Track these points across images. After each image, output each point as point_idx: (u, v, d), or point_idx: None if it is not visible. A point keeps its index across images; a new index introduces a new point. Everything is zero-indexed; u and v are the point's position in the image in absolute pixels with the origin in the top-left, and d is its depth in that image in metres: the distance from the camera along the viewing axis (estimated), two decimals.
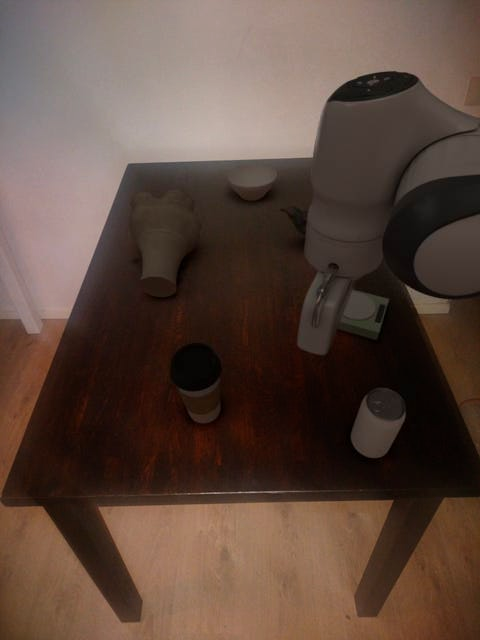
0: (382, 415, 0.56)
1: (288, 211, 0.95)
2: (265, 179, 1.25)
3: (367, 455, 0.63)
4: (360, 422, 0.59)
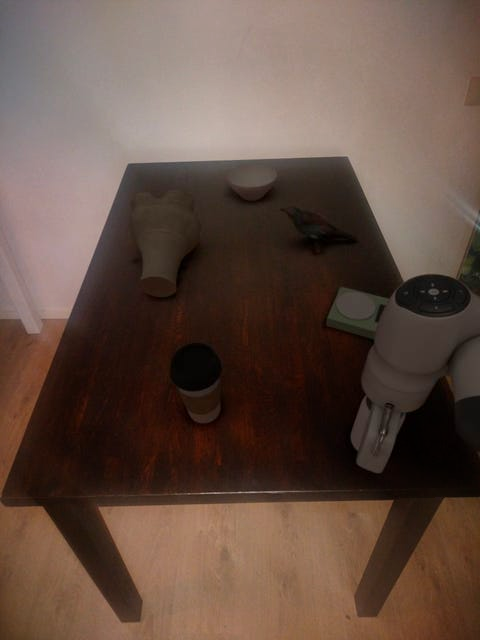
0: None
1: (288, 211, 0.95)
2: (265, 179, 1.25)
3: None
4: (359, 422, 0.59)
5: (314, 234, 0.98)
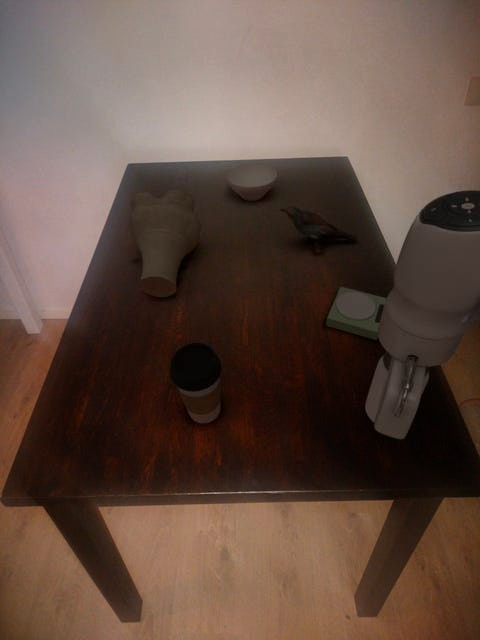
0: None
1: (288, 211, 0.95)
2: (265, 179, 1.25)
3: None
4: (376, 387, 0.52)
5: (314, 234, 0.98)
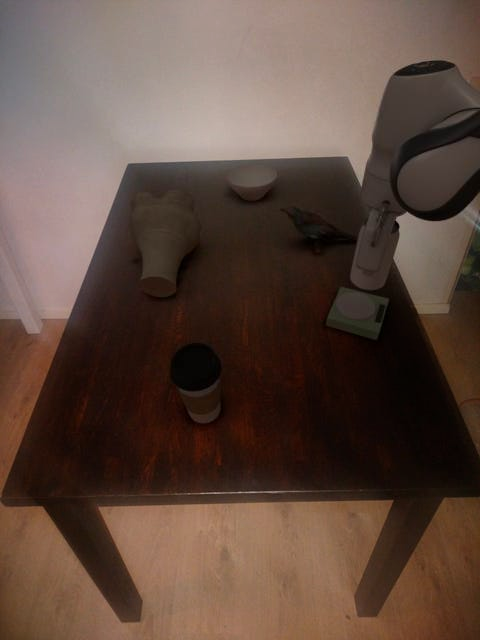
0: None
1: (288, 211, 0.95)
2: (265, 179, 1.25)
3: (365, 287, 0.69)
4: (358, 249, 0.65)
5: (314, 234, 0.98)
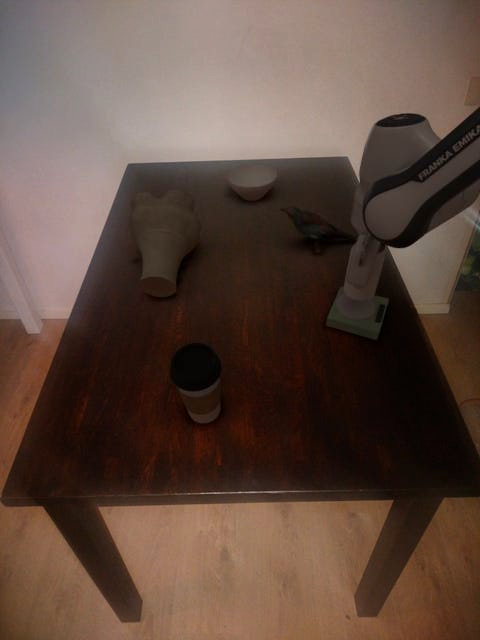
0: None
1: (288, 211, 0.95)
2: (265, 179, 1.25)
3: (356, 298, 0.78)
4: None
5: (314, 234, 0.98)
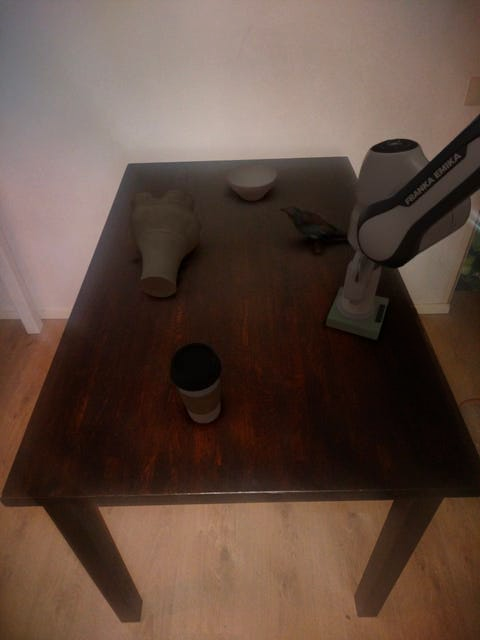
0: None
1: (288, 211, 0.95)
2: (265, 179, 1.25)
3: (353, 312, 0.81)
4: None
5: (314, 234, 0.98)
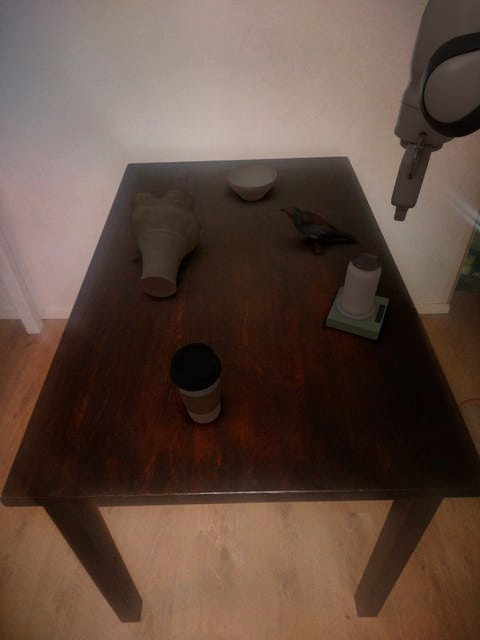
0: (363, 268, 0.74)
1: (288, 211, 0.95)
2: (265, 179, 1.25)
3: (353, 312, 0.81)
4: (347, 281, 0.78)
5: (314, 234, 0.98)
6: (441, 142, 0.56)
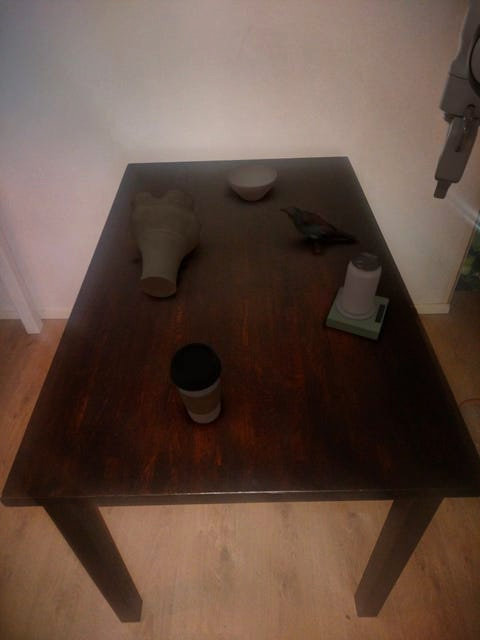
0: (363, 268, 0.74)
1: (288, 211, 0.95)
2: (265, 179, 1.25)
3: (353, 312, 0.81)
4: (347, 281, 0.78)
5: (314, 234, 0.98)
6: None
